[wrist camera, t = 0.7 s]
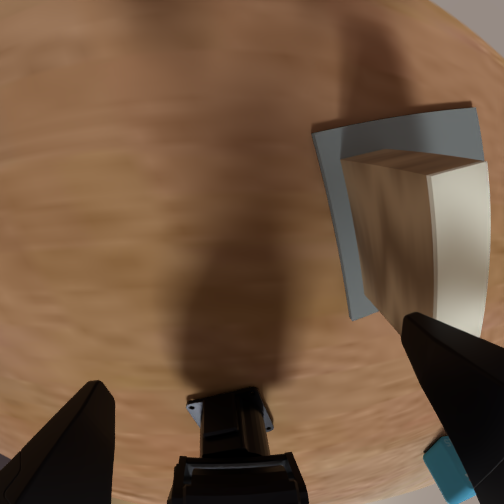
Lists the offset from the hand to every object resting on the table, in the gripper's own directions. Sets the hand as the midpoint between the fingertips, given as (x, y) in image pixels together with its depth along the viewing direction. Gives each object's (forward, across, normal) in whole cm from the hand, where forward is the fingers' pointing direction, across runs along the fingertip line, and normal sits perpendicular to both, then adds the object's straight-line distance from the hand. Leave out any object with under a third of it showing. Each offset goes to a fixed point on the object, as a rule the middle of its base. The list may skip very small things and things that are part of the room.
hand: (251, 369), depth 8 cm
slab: (+12, -10, +2) cm, 16 cm away
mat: (+13, -14, +2) cm, 19 cm away
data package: (+10, -26, +43) cm, 51 cm away
